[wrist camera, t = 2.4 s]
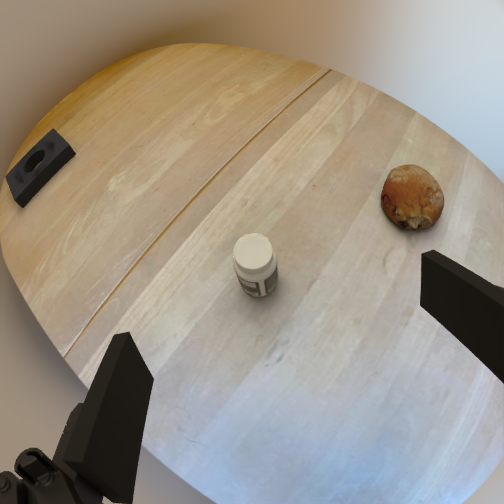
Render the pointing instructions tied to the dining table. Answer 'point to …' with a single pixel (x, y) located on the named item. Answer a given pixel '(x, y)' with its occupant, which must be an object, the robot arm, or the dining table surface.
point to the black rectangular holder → (53, 158)
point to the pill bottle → (255, 264)
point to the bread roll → (412, 197)
